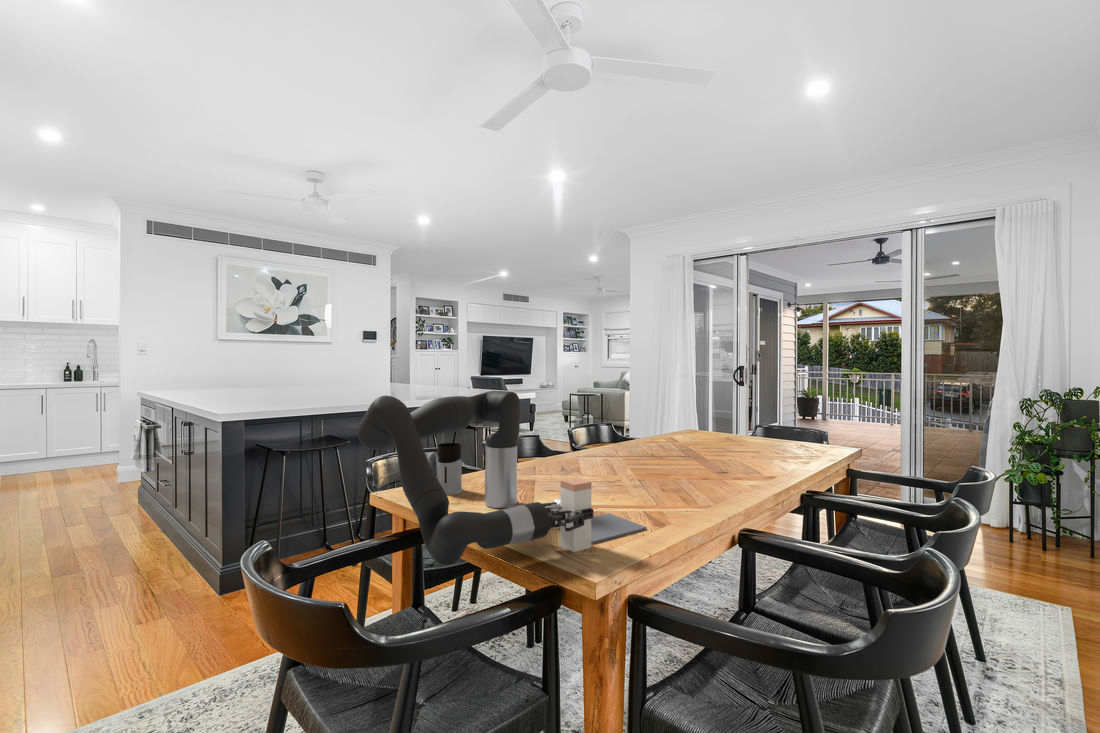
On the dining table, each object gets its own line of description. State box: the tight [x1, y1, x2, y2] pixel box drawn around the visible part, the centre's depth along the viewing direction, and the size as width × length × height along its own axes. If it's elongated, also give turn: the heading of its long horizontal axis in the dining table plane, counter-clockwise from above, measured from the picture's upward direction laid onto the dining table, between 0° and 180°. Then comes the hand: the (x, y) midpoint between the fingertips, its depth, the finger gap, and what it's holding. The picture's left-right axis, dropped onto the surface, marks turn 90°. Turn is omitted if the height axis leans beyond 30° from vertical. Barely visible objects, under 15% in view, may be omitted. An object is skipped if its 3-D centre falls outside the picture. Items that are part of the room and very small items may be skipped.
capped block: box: [559, 477, 592, 553], centre depth 116 cm, size 5×5×15 cm
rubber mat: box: [557, 512, 648, 545], centre depth 129 cm, size 14×18×1 cm
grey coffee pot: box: [426, 442, 464, 496], centre depth 162 cm, size 9×14×15 cm, turn 150°
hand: (584, 509), depth 118 cm, fingers closed on capped block, 5 cm apart
